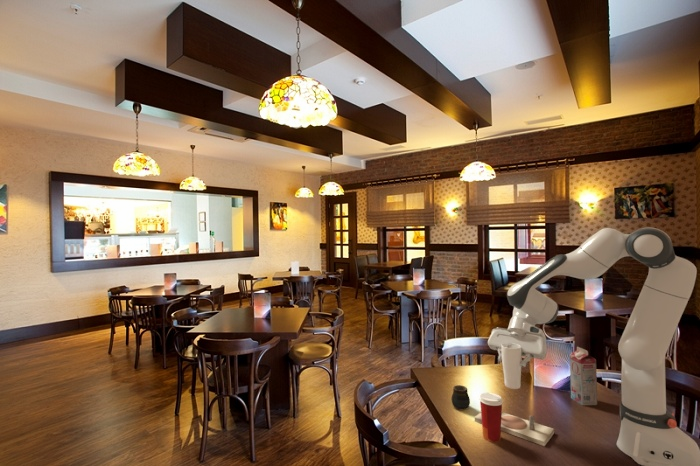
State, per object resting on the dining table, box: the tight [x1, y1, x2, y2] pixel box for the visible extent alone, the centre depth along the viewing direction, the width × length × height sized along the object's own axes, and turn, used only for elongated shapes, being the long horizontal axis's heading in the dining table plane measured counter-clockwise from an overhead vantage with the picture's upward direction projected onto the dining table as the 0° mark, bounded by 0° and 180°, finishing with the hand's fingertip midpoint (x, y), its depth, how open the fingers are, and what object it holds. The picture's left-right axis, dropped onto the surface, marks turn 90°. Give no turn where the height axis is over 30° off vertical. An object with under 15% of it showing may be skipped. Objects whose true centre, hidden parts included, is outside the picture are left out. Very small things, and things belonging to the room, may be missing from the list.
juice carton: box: [569, 346, 598, 406], centre depth 150 cm, size 7×7×22 cm
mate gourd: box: [450, 384, 471, 411], centre depth 145 cm, size 7×8×10 cm
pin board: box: [474, 411, 555, 447], centre depth 130 cm, size 24×11×6 cm, turn 46°
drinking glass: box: [501, 343, 523, 390], centre depth 130 cm, size 7×7×15 cm
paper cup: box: [478, 392, 504, 443], centre depth 123 cm, size 8×8×14 cm
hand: (511, 363), depth 130 cm, fingers closed on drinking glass, 6 cm apart
